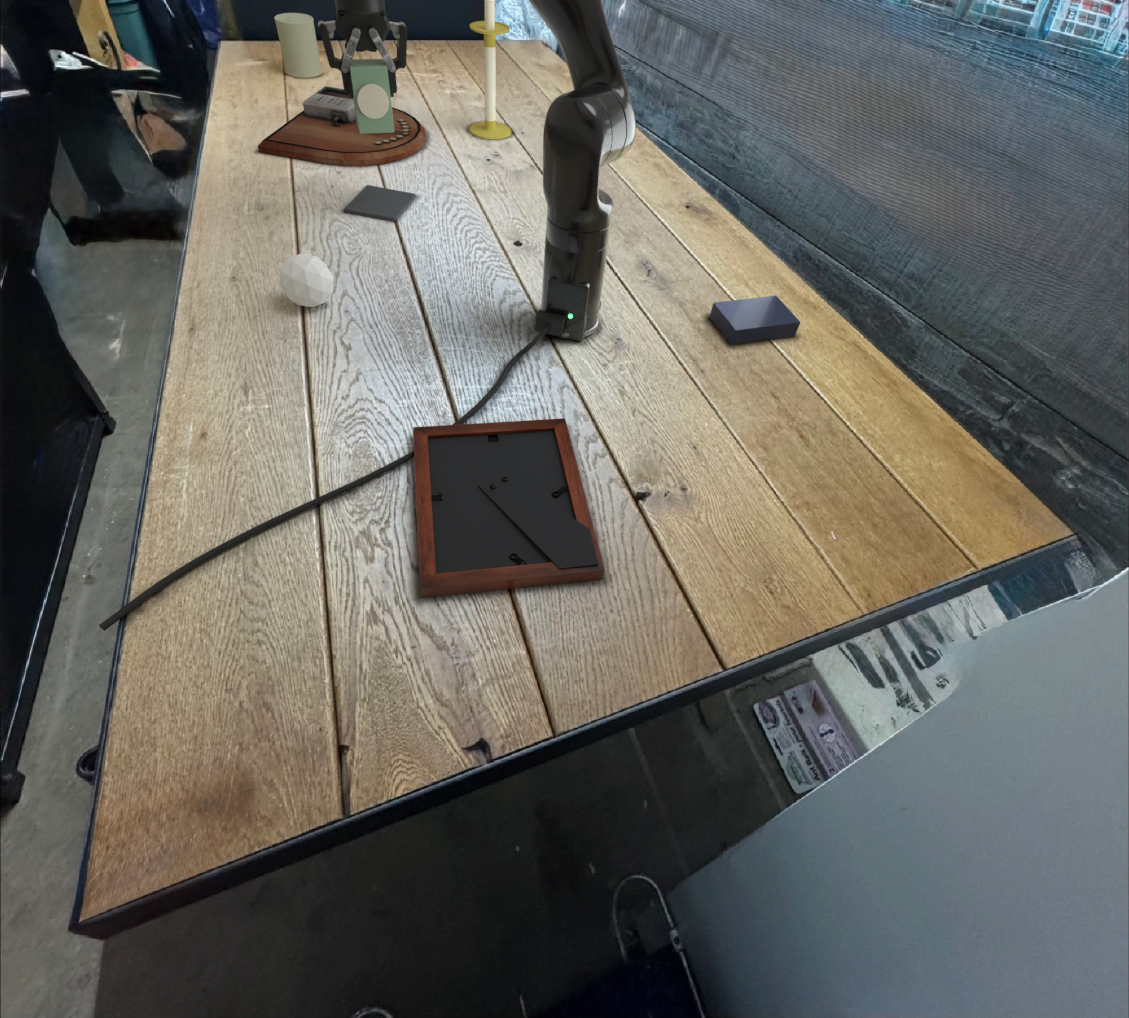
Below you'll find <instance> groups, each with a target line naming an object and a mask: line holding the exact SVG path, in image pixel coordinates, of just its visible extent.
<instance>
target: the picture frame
mask: <svg viewBox="0 0 1129 1018" xmlns="http://www.w3.org/2000/svg"><path fill="white" fill-rule="evenodd" d="M412 433H413V434H412V436H413V451H414V457H413V459H414V481H415V505H416V507H415V508H416V529H417V551H418V553H417V554H418V574H419V575H418V577H419V591H420V598H421V599H423V598H424V599H425V598H432V597H433V598H434V597H441V596H442V597H443V596H452V595H462V594H463V595H464V594H472V593H480V592H482V593H483V592H493V591H501V590H510V589H511V590H512V589H521V588H528V587H529V588H530V587H539V586H549V585H559V584H569V583H577V582H587V581H597V580H603V579H604V576H605V571H606V570H605V565H604V562H603V558H602V553H601V549H600V547H599V543H598V539H597V535H596V531H595V527H594V524H593V519H592V516H591V512H590V509H589V505H588V501H587V497H586V492H585V488H584V485H583V482H582V478H581V474H580V470H579V466H578V463H577V460H576V455H575V450H574V447H573V443H572V440H571V435H570V432H569V429H568V424H567V420H566V417H564V418H562V417H561V418H545V419H544V418H543V419H530V420H514V421H511V420H510V421H496V422H478V423H476V422H475V423H463V424H459V425H453V424H447V425H446V424H445V425H444V424H443V425H442V424H441V425H426V426H413V427H412Z"/></svg>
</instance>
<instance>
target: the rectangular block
mask: <svg viewBox="0 0 1129 1018" xmlns="http://www.w3.org/2000/svg"><path fill="white" fill-rule="evenodd" d="M709 319H710V320H711V321H712V323H713V324H714V325H715V326H716V328H717V329H718V330H719V332H720V333H721V334H722V336H723V337H724V338H725V340H726V341H728V343H729V344H730V345H731V346H734V345H742V344H749V343H756V342H764V341H770V340H778V339H787V338H793V337H796V334H797V332H798V331H799V327H800V324H801V320H799V318H797V316H796V315H795V314H794V313H793V312H792V311H791V310H790V309H789V307H787V306H786V304H785V303H784V302H783V301H782V300H781V299H780V298H779V297H778V296H777V295H768V296H761V297H760V296H758V297H751V298H741V299H734V300H724V301H717V302H713V303H712V307H711V310H710V313H709Z"/></svg>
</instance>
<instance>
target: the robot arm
mask: <svg viewBox="0 0 1129 1018" xmlns="http://www.w3.org/2000/svg"><path fill="white" fill-rule="evenodd" d="M528 2H529V3H530V4H531V5H532V7H533V8H534V9H535V11H536V12H537V14H538V15H539V17H540V18H541V19H542V21H543V22H544V23H545V24H546V26H547V27H548V28H549V31H550V32H551V33H552V35H553V36H554V38H555V39H556V42H557V43H558V45H559V47H560V49H561V52H562V54H563V56H564V59H565V62H566V65H567V69H568V72H569V76H570V79H571V82H572V83H571V84H572V88H573V90H570V91H567V92H564V93H562V94H560V95H558V96H557V97H556V98H554V99H553V100H552V102H551V103H550V105H549V107H548V109H547V111H546V115H545V117H544V118H545V119H544V123H543V133H542V190H543V191H542V192H543V195H544V199H545V202H546V221H545V222H546V223H545V224H546V225H545V239H544V253H543V254H544V255H543V269H542V271H543V272H542V287H541V288H542V289H541V303H540V304H541V305H540V309H538V311H537V313H536V315H535V325H534V332H536V333H538V334H537V335H536V336H534V338H533V339H532V340H530V342H529V343H528V344H527V345H525V346H524V347H523V348H522V349H520V350H519V351H518V352H516V354H514V356H513V357H512V358H511V359H510V360H509V362H508V363H507V364H506V365H505V367H504V369H503V371H502V372H501V373H500V376H499V377H498V379H497V381H495V383H494V384H493V386H492V387H491V388H490V389H489V390H488V392H486V394H485V395H484V396H483V397H482V398H481V399H480V400H479V401H478V402H477V403H476V404H475V405H474V406H473V407H472V408H470V409H469V410H468V411H467V412H466V413H465V414H463V415H462V416H461V417H460V418H459V419H458V420H457V421H455V422H454V423H452V425H459V424H465V422H467V421H468V420H469V419H470V418H471V417H473V416H474V415H475V414H476V413H477V412H478V411H479V410H480V409H481V408H483V406H484V405H485V404H486V403H487V402H488V401H489V400H491V398H492V397H493V395H495V393H496V392H497V391H498V390H499V389H500V387H501V386H502V384H503V383H504V382H505V380H506V378H507V376H508V374H509V373H510V371H511V369H512V368H513V367H514V365H515V364H516V363H517V362H518V361H519V360H520V358H521V357H523V356H524V355H525V354H527V352H529V351H530V350H531V349H532V348H534V347H535V345H537V343H539V341H540V340H541V339H543V337H544V336H545V335H546V336H552V337H556V338H562V339H567V340H571V341H577V342H583V341H584V339H585V338H586V337H590V336H591V335H592V334H594V333H595V332H596V330H597V329H598V327H599V320H600V318H599V314H600V310H601V306H602V301H601V299H602V293H603V286H604V280H605V279H604V278H605V270H606V264H607V257H608V249H609V241H610V235H611V227H612V221H613V215H614V201H613V199H612V197H611V196H610V194H609V193H607V192H606V191H604V190H603V189H601V188H599V185H600V173H601V172H600V171H601V168H602V167H604V166H607V165H609V164H612V163H613V162H616V161H618V160H620V159H622V158H623V157H625V156H626V155H627V154H628V153H629V151H630V150H631V149H632V147H633V144H634V141H635V137H636V132H637V131H636V130H637V123H636V122H637V121H636V113H635V107H634V103H633V99H632V96H631V93H630V90H629V87H628V84H627V80H626V78H625V75H624V71H623V68H622V66H621V63H620V60H619V56H618V54H617V51H616V48H615V45H614V42H613V38H612V35H611V31H610V29H609V25H608V22H607V18H606V14H605V10H604V6H603V2H602V0H528ZM334 5H335V17H334V19H333V20H329V21H325V20H323V19H319V20H318V21H317V26H318V27H317V28H318V31H319V33H320V37H321V41H322V44H323V47H324V51H325V55H326V58H327V62H328V65H329V67H330V69H335V70H338V71H340V73H341V80H342V86H343V89H344V91H345V93H346V94H349V97H350V98H354V95H353V88H352V81H351V75H350V71H349V66H350V65H351V61H352V59H354V57H355V52H356V53H362V52H370V53H377V52H378V53H379V55H380V57H381V59H383V60H384V62H385V64H386V66H387V70H388V78H389V87H390V96H391V98H395V94H397V92H398V84H397V75H396V74H397V71H398V70H400V69H405V68H406V67H407V51H408V50H407V49H408V28H407V26H406V23H405V22H404V21H402V20H400V21H398V22H396V21H390V20H389V18H388V17H387V12H386V3H385V0H334ZM335 30H337V31H338V33H339V34H340V35H341V37H342V38H343V39H344V44H343V48H342V53H341V57H340V58H338V57H336V56H335V52H334V48H333V46H332V40H333V39H334V36H335V33H334V32H335ZM390 31H391V32H392V35H393V37H394V39H396V57H394V58H392V57H391V55H390V53H389V51H388V50H387V47H386V45H385V43H384V42H385V40H386V38H387V36H388V34H389V32H390ZM412 459H414V450H412V451H410V452H408V453H406V454H405V455H403V456H401V457H399V458H397V459H396V460H394V461H391V462H390V463H388V464H386V465H384V466H382V467H379V468H378V469H376V470H374V471H372V472H369V473H368V474H365V475H364V476H362V477H360V478H358V479H355V480H353V481H352V482H349V483H347V484H345V485H342V486H340V487H338V488H336V489H334V490H332V491H328V492H327V493H324V494H322V495H320V496H317V497H316V498H314V499H312V500H310V501H308V502H305V503H303V504H301V505H299V506H297V507H295V508H292V509H290V510H287V511H286V512H284V513H280V514H278V515H277V516H275V517H272V518H270V519H269V520H266V521H264V522H261V523H259V524H258V525H256V526H253V527H252V528H250V529H247V530H246V531H244V532H242V533H240V534H238V535H235V536H234V537H232V538H230V539H229V540H227V541H225V542H223V543H221V544H219V545H217V546H215V547H214V548H212V549H210V550H208V551H206V552H204V553H202V554H201V555H199V556H197V557H195V558H194V559H192V560H191V561H188V562H187V563H185V564H184V565H182V566H180V567H178V568H177V569H176V570H174V571H172V572H171V573H170V574H167V575H166V576H165V577H163V578H162V579H160V580H159V581H157V582H155V583H154V584H153V585H151V586H149V588H147V589H146V590H144V591H143V592H141V593H140V594H139V595H137V596H136V597H134V599H132V600H130V601H129V602H128V603H126V605H124V606H123V607H121V608H120V609H119V610H117V611H116V612H115V613H113V614H112V615H110V616H108V618H106V619H105V620H104V621H102V622H101V623H100V624H98V627H100V628H101V630H102V631H107V630H108V629H109V628H110V627H112V626H113V625H115V624H116V623H117V622H118V621H120V620H121V619H122V618H124V617H125V616H127V615H128V614H129V613H130V612H132V611H134V609H136V608H137V607H139V606H140V605H141V604H142V603H144V602H145V601H146V600H148V599H149V598H151V597H152V596H153V595H155V594H156V593H157V592H159V591H160V590H161V589H164V588H165V587H167V586H168V585H169V584H171V583H172V582H174V581H175V580H177V579H179V578H180V577H182V576H183V575H184V574H187V573H188V572H190V571H191V570H193V569H195V568H196V567H198V566H200V565H201V564H203V563H204V562H207V561H208V560H210V559H212V558H213V557H216V556H217V555H219V554H221V553H223V552H225V551H227V550H228V549H230V548H233V547H234V546H236V545H238V544H239V543H242V542H243V541H245V540H247V539H249V538H252V537H253V536H255V535H257V534H259V533H261V532H263V531H265V530H267V529H269V528H271V527H274V526H276V525H277V524H280V523H282V522H284V521H286V520H288V519H291V518H292V517H295V516H297V515H299V514H301V513H304V512H305V511H309V510H310V509H312V508H315V507H316V506H318V505H321V504H323V503H325V502H327V501H329V500H331V499H333V498H336V497H338V496H341V495H343V494H345V493H347V492H350V491H351V490H354V489H356V488H357V487H360V486H361V485H364V484H366V483H368V482H370V481H372V480H374V479H376V478H378V477H380V476H382V475H384V474H386V473H388V472H390V471H391V470H393V469H396V468H398V467H400V466H401V465H403V464H405V463H406V462H408V461H410V460H412Z"/></svg>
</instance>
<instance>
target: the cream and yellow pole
mask: <svg viewBox="0 0 1129 1018" xmlns="http://www.w3.org/2000/svg"><path fill="white" fill-rule="evenodd" d="M495 10H496V0H484V20H477V21H473V22H471V23H469V28H470V30H471V31H473V32H474V33H478V34H482V35H483V68H484V69H483V74H484V77H483V78H484V82H483V84H484V121H478V122H474V123H473V124H470V126H469V127H468V132H469V133H470V134H471V135H473V136H475V137H476V138H480V139H485V140H500V139H501V140H502V139H506V138H508V137H510V136H511V134H512V130H511V127H509V126H508V125H507V124H504V123H501V122H498V121H497V118H496V117H497V116H496V115H497V114H496V110H497V109H496V107H497V105H496V104H497V101H496V100H497V99H496V98H497V95H496V94H497V93H496V92H497V91H496V90H497V89H496V88H497V87H496V83H497V82H496V78H497V77H496V75H497V73H496V71H497V70H496V67H497V66H496V65H497V64H496V63H497V62H496V57H497V56H496V53H497V51H496V47H497V46H496V43H497V41H496V39H497V38H496V36H499V35H505V34H508V33H509V32H510V30H511V29H510V26H509V25H508V24H506V23H503V22H499V21H496V11H495Z"/></svg>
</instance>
